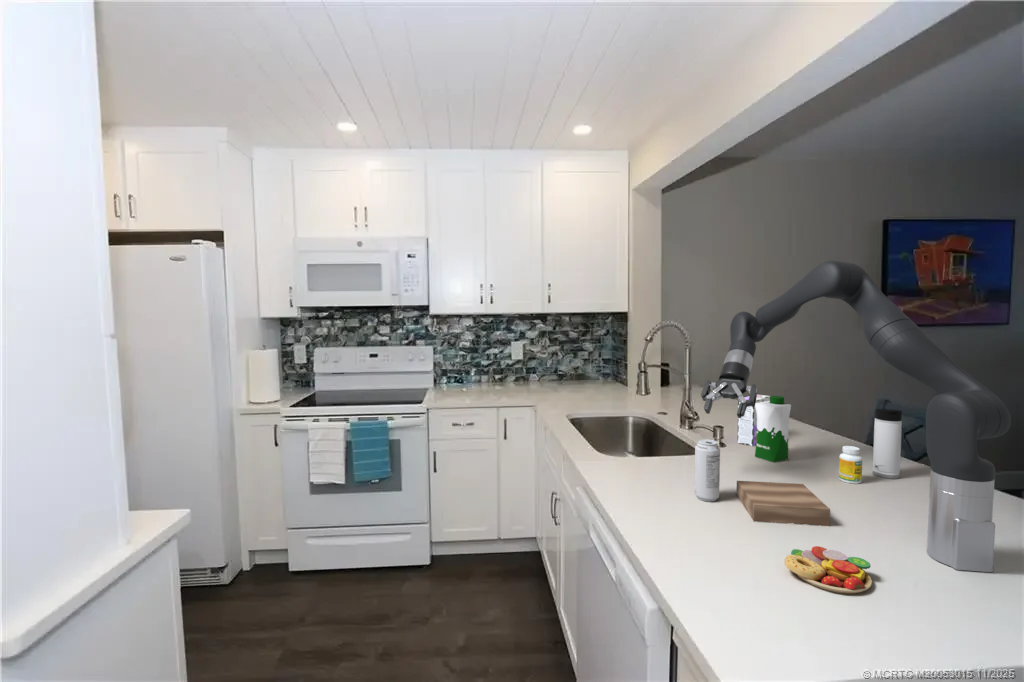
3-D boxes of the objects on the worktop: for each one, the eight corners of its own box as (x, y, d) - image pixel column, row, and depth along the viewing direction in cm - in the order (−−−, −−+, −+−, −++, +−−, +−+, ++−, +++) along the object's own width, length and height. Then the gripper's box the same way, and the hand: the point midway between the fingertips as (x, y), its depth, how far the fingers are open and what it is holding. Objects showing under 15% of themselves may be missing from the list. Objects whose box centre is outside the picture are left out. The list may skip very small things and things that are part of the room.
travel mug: (874, 477, 143) (877, 409, 141) (870, 470, 148) (873, 404, 147) (901, 481, 140) (905, 411, 138) (896, 473, 146) (899, 406, 144)
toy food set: (777, 576, 93) (777, 560, 93) (799, 551, 102) (799, 536, 102) (863, 607, 83) (863, 588, 83) (878, 575, 93) (879, 559, 92)
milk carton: (793, 459, 160) (794, 398, 158) (773, 463, 156) (775, 401, 155) (768, 452, 168) (770, 394, 166) (749, 456, 164) (751, 396, 163)
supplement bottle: (844, 476, 144) (845, 443, 143) (865, 481, 140) (866, 448, 139) (835, 480, 141) (836, 447, 141) (856, 485, 137) (857, 451, 136)
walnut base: (829, 526, 113) (830, 509, 112) (753, 521, 116) (754, 504, 115) (802, 498, 128) (802, 483, 128) (736, 495, 131) (736, 480, 131)
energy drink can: (707, 492, 134) (708, 437, 133) (724, 500, 128) (725, 443, 127) (689, 495, 132) (690, 440, 130) (706, 504, 126) (706, 446, 125)
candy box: (754, 436, 188) (754, 393, 187) (770, 439, 184) (771, 395, 182) (736, 443, 179) (737, 398, 178) (752, 446, 175) (753, 400, 174)
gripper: (708, 358, 147) (693, 403, 140) (760, 362, 138) (747, 410, 130) (714, 374, 152) (700, 418, 144) (765, 378, 142) (752, 425, 135)
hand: (722, 414), depth 137 cm, fingers open, 8 cm apart
